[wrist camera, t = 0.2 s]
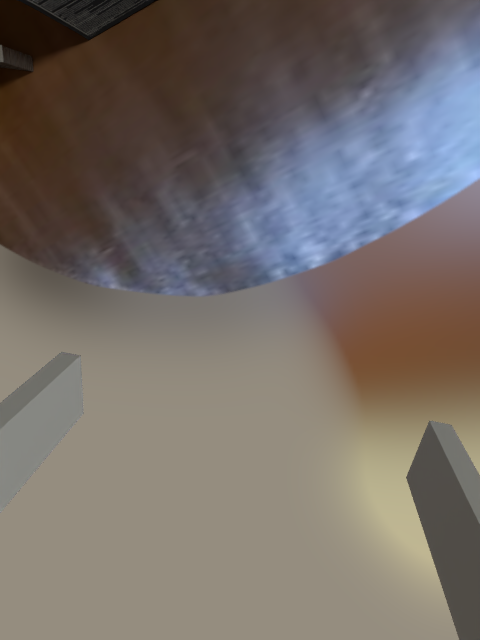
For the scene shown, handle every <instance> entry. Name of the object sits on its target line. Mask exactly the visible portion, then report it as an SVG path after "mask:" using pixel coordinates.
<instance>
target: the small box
mask: <svg viewBox="0 0 480 640" xmlns="http://www.w3.org/2000/svg"><path fill="white" fill-rule="evenodd" d="M18 1H21V2H23V3H25V4H26V5H29V6H31V7H33V8H34V9H36V10H39V11H40V12H41V13H43V14H45V15H46V16H48V17H50V18H52V19H54V20H55V21H57V22H59V23H61V24H62V25H64V26H67V27H68V28H69V29H71V30H73V31H75V32H77V33H78V34H80V35H82V36H83V37H85V38H86V39H88V40H90V39H91V38H93V37H95V36H96V35H98V34H100V33H102V32H103V31H105V30H107V29H108V28H110V27H112V26H113V25H115V24H117V23H119V22H120V21H122V20H123V19H125V18H127V17H129V16H130V15H132V14H133V13H135V12H137V11H139V10H140V9H142V8H144V7H145V6H147V5H149V4H150V3H152V2H154V1H155V0H18Z"/></svg>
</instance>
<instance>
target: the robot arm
mask: <svg viewBox="0 0 480 640" xmlns="http://www.w3.org/2000/svg"><path fill="white" fill-rule="evenodd" d="M83 413H84V412H83V393H82V374H81V356H80V355H76V354H70V353H65V352H61V353H60V354H59V355H57V356H56V357H55V358H54V359H53V360H51V361H50V362H49V363H48V364H47V365H45V366H44V367H43V368H42V369H41V370H39V371H38V372H37V373H36V374H35V375H33V376H32V377H31V378H30V379H29V380H27V381H26V382H25V383H24V384H23V385H21V386H20V387H19V388H18V389H17V390H15V391H14V392H13V393H12V394H11V395H9V396H8V397H7V398H6V399H5V400H3V401H2V402H1V403H0V513H1V512H2V510H3V509H4V508H5V507H6V506H7V504H8V503H9V502H10V501H11V500H12V498H13V497H14V496H15V495H16V494H17V492H18V491H19V490H20V489H21V487H22V486H23V485H24V484H25V483H26V482H27V480H28V479H29V478H30V477H31V476H32V474H33V473H34V472H35V471H36V470H37V468H38V467H39V466H40V465H41V464H42V462H43V461H44V460H45V459H46V458H47V456H48V455H49V454H50V453H51V452H52V450H53V449H54V448H55V447H56V446H57V444H58V443H59V442H60V441H61V440H62V438H63V437H64V436H65V435H66V434H67V432H68V431H69V430H70V429H71V428H72V426H73V425H74V424H75V423H76V422H77V420H78V419H79V418H80V417H81V416H82V414H83ZM406 478H407V481H408V484H409V487H410V490H411V494H412V497H413V500H414V503H415V506H416V509H417V512H418V515H419V518H420V521H421V524H422V527H423V530H424V533H425V536H426V539H427V542H428V545H429V548H430V551H431V555H432V558H433V561H434V564H435V567H436V570H437V573H438V576H439V579H440V582H441V585H442V588H443V591H444V594H445V597H446V600H447V603H448V606H449V610H450V612H451V616H452V618H453V622H454V625H455V628H456V631H457V634H458V637H459V640H480V475H479V473H478V472H477V470H476V468H475V466H474V465H473V463H472V461H471V459H470V457H469V455H468V454H467V452H466V450H465V448H464V446H463V445H462V443H461V441H460V439H459V437H458V436H457V434H456V432H455V430H454V429H453V427H452V425H450V424H444V423H439V422H434V421H429V423H428V426H427V428H426V430H425V433H424V435H423V438H422V440H421V443H420V445H419V447H418V450H417V452H416V455H415V458H414V460H413V462H412V465H411V467H410V470H409V472H408V475H407V477H406Z"/></svg>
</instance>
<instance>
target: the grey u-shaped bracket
mask: <svg viewBox="0 0 480 640" xmlns="http://www.w3.org/2000/svg"><path fill="white" fill-rule="evenodd" d="M0 67H2V68H10V69H18V70H25V71H33V61H32V56H29V55H27V54H24V53H21V52H19V51H16V50H13V49H10V48H8V47H5V46H2V45H0Z"/></svg>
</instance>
